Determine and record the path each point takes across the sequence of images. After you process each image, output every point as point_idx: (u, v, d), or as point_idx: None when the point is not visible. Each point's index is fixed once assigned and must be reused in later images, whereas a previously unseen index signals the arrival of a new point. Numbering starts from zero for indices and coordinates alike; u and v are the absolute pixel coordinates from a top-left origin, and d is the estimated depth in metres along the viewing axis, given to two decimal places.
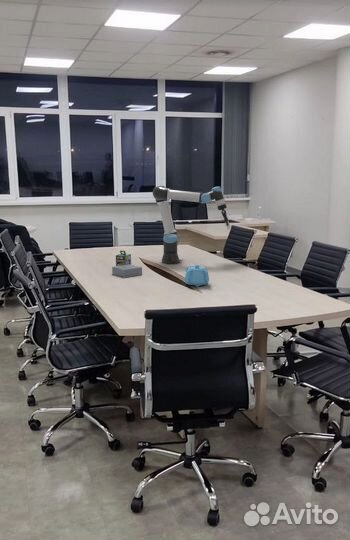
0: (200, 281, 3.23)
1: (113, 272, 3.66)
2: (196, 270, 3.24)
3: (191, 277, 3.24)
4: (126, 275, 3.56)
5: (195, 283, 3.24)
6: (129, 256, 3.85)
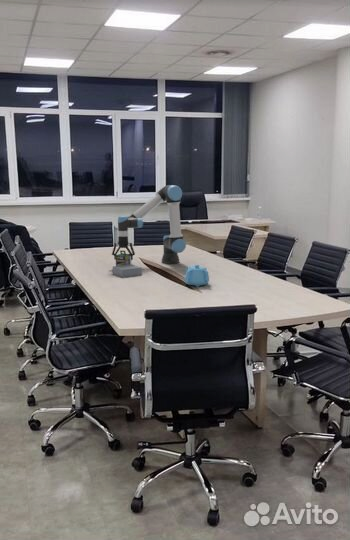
0: (200, 281, 3.23)
1: (113, 272, 3.67)
2: (196, 270, 3.24)
3: (191, 277, 3.24)
4: (125, 275, 3.56)
5: (195, 283, 3.24)
6: (129, 256, 3.85)
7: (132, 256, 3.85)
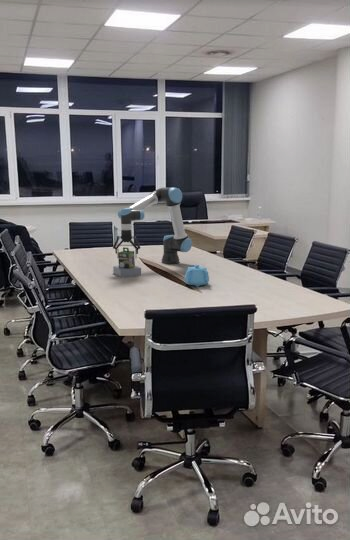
0: (200, 281, 3.23)
1: (114, 272, 3.68)
2: (196, 270, 3.24)
3: (191, 277, 3.24)
4: (123, 275, 3.56)
5: (195, 283, 3.24)
6: (132, 253, 3.63)
7: (137, 250, 3.61)
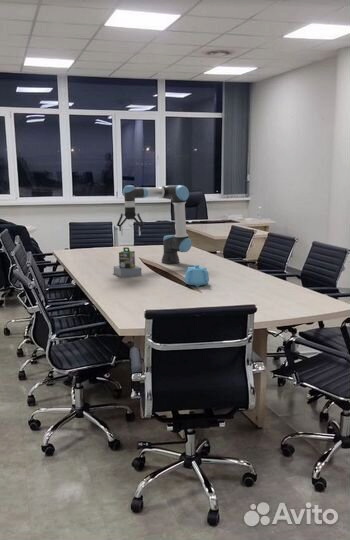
0: (200, 281, 3.23)
1: (114, 272, 3.68)
2: (196, 270, 3.24)
3: (191, 277, 3.24)
4: (123, 275, 3.56)
5: (195, 283, 3.24)
6: (133, 253, 3.63)
7: (141, 227, 3.64)
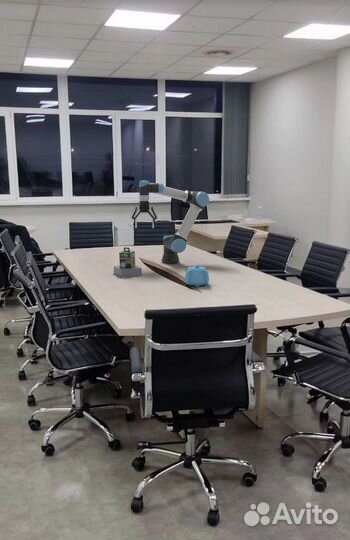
0: (200, 281, 3.23)
1: (114, 272, 3.68)
2: (196, 270, 3.24)
3: (191, 277, 3.24)
4: (123, 275, 3.56)
5: (195, 283, 3.24)
6: (133, 253, 3.64)
7: (154, 220, 3.86)
